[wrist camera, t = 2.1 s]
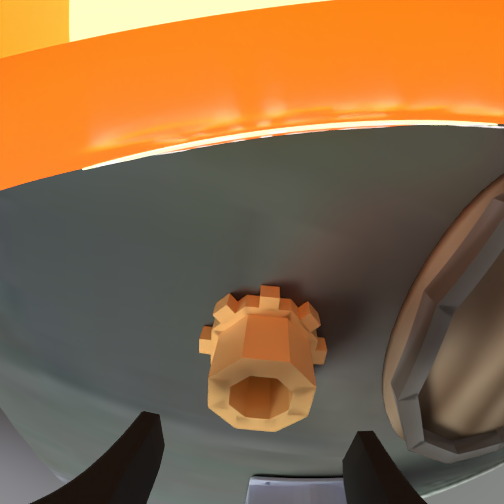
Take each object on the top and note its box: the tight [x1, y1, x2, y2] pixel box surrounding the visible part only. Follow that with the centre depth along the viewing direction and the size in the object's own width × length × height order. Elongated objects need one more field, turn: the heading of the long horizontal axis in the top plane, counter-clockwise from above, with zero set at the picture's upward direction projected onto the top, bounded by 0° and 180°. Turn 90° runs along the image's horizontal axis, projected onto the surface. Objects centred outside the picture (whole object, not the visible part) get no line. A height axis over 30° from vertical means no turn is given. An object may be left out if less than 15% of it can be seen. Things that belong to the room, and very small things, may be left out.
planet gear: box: [199, 285, 327, 432], centre depth 15 cm, size 6×6×4 cm
